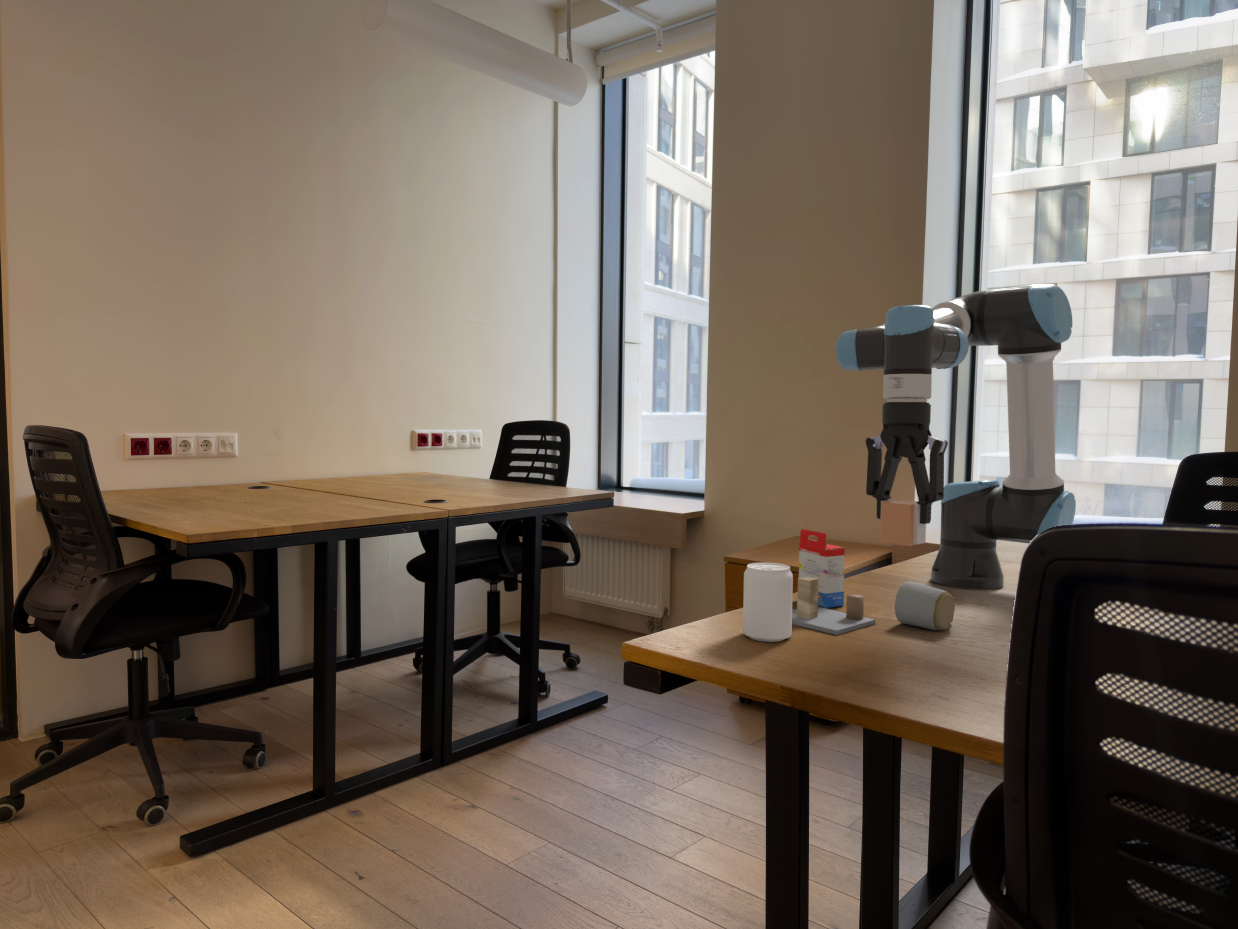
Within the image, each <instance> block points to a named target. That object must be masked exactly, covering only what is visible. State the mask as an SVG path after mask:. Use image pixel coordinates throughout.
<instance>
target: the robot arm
mask: <svg viewBox="0 0 1238 929" xmlns="http://www.w3.org/2000/svg"><path fill="white" fill-rule="evenodd" d="M1071 308H1072V307H1071V304H1070V301H1069V299H1068V296H1067V295H1066V293H1065V291H1064V290H1063V289H1062V288H1061V287H1060V286H1058V285H1056V284H1052V283H1047V284H1035V283H1033V284H1031V285H1030V284H1028V285H1022V286H1012V287H1005V288H1004V287H1002V288H996V289H995V288H994V289H984V290H983V289H982V290H978V291H974V292H970V293H968V294H964V295H961V296H958V297H955V298H952V299H949V300H947V301H943V302H939V303H938V304H936V305H935V306H933V307H931V306H928V305H924V304H910V305H898V306H893V307H891V308H889V309H887V311H886V313H885V320H884V321H885V322H884V324H880V325H877V326H874V327H870V328H865V329H863V328H862V329H859V328H857V329H856V328H855V329H852V330H847V331H844V332H842V333H840V335H839V337H838V338H837V341H836V343H835V344H836V346H835V355H836V360H837V363H838V365H839V366H840V367H841V368H842V369H843V370H845V371H857V372H862V371H873V370H874V371H878V370H883V388H882V389H883V390H882V394H883V395H882V397H883V399H885V400H886V402H884V403H883V404H882V415H881V416H882V417H881V420H882V421H881V423H882V430H881V432H880V435H877V436H875V437H867V438H865V445H866V449H867V466H866V467H867V468H866V489H865V493H866V495H867V496H871V497H873V498H875V500H876V519H878V520H881V502H884V501H892V500H893V499H892V496H891V493H892V488H893V485H894V482H895V478H896V475H897V471H898V468H899V464H900V463H901V461H902V459H903V458H907V461H908V463H909V464H910V466H911V467H910V468H911V472H912V477H913V481H914V486H915V491H916V494H917V500H918V501H916V502H917V504H914V526H913V544H918V545H922V544H921V543H923V544H926V540H927V539H926V538H927V536H926V535H927V534H926V533H927V530H926V529H927V524H931V522H932V505H933V503H935V502H939V501H941V502H940V506H941V509H940V539H939V540H940V544H939V549H938V551H937V554H936V556H935V557H936V558H935V559H934V562H933V565H932V566H931V570H930V580H931V581H932V582H934V583H936V584H939V585H942V586H948V587H953V588H961V589H970V590H971V589H972V590H994V589H1000V588H1002V587H1004V581H1005V579H1004V578H1005V577H1004V573H1003V569H1002V567H1001V563H1000V560H999V556H998V552H997V541H1002V542H1003V541H1004V542H1011V543H1021V544H1028V545H1030V544H1029V543H1030V541H1031V540H1032V539H1033V538H1034V537H1035V536H1036V535H1038V534H1040V533H1041V532H1043V531H1045V530H1047V529H1049V528H1052V527H1056V526H1062V525H1072V526H1073V523H1074V521H1075V520H1074V519H1075V515H1076V514H1075V513H1076V509H1077V508H1076V498H1075V494H1074V493H1073V492H1071V491H1069V490H1065V481H1064V479H1062V478H1061V476H1059V475H1058V474H1057V473H1056V440H1055V438H1056V437H1055V436H1056V434H1055V430H1056V428H1055V397H1054V396H1055V394H1054V393H1055V392H1054V391H1055V390H1054V358H1056V356H1057V355H1059V353H1061V351H1062V343H1064V342H1067V341H1068V340H1069V339H1070V337H1071V335H1072V329H1073V314H1072V309H1071ZM970 346H972V347H975V346H979V347H982V346H983V347H984V346H985V347H987V346H989V347H990V346H997V355H998V357H1000V358H1001V359H1002V360H1003V361H1004V362H1005V365H1006V384H1007V385H1006V389H1007V390H1006V391H1007V396H1006V397H1007V420H1008V421H1007V422H1008V423H1007V424H1008V453H1009V455H1008V457H1009V459H1008V460H1009V474H1008V476H1007V477H1005V478H1004V480H1002V484H1000V482H999V480H998V479H990V480H989V479H988V480H987V479H986V480H973V481H960V482H959V481H958V482H949V483H947V484H946V485H945V479H944V478H945V452H946V450H947V447H948V444H949V443H948V440H947V439H940V438H936V437H934V436H932V432H931V430H930V424H931V411H932V410H931V409H932V408H931V407H932V404H930V402H928V400H930V399H932V374H933V370H932V369H937V370H946V369H951V368H954V367H955V368H956V367H957V366H959V365H960V364H961V363H963V361H964V360H965V359H966V357H967V355H968V353H969V347H970ZM928 445H929V446H928ZM884 446H885V448H886V450H885V455H884V465H883V467H882V459H883V450H882V448H883V447H884ZM927 446H928V449H929V451H930V453H929V473H928V471H927V467H926V460H927V459H926V455H925V449H926V448H927ZM928 474H929V475H928ZM1000 485H1002V486H1000ZM879 529H880V531H881V521H880V528H879ZM880 531H879V532H880Z"/></svg>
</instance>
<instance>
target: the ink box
mask: <svg viewBox="0 0 1238 929" xmlns="http://www.w3.org/2000/svg"><path fill="white" fill-rule="evenodd" d="M799 532H800V533H799V534H800V535H799V545H798V578H802V577H811V578H816V579H818V607H821V608H825V609H831V608H839V607H844V604H845V603H844V601H845V547H843V546H838V545H833V544H828V533H825V532H821V531H816V530H810V529H805V528H801V529H800V531H799ZM813 536H814V537H815V538H817V540H816V539H810V537H813Z"/></svg>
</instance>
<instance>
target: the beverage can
mask: <svg viewBox="0 0 1238 929" xmlns="http://www.w3.org/2000/svg"><path fill="white" fill-rule="evenodd" d="M793 578H794V576H793V572H792V571H791V566H790V565H787V564H784V563H776V562H752V563H748V564H747V565H746V569H745V571H744V572H743V598H742V599H743V602H742V603H743V605H742V606H743V610H742V611H743V612H742V614H743V615H742V632H743V635H745V636H747V637H748V638H750V639H751V640H755V641H759V642H770V643H773V642H776V643H777V642H781V641H784V640H785V639H788V638H790V637H792V632H793V630H792V627H793V624H792V610H793V591H794V590H793V585H794V584H793V582H794V579H793Z"/></svg>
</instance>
